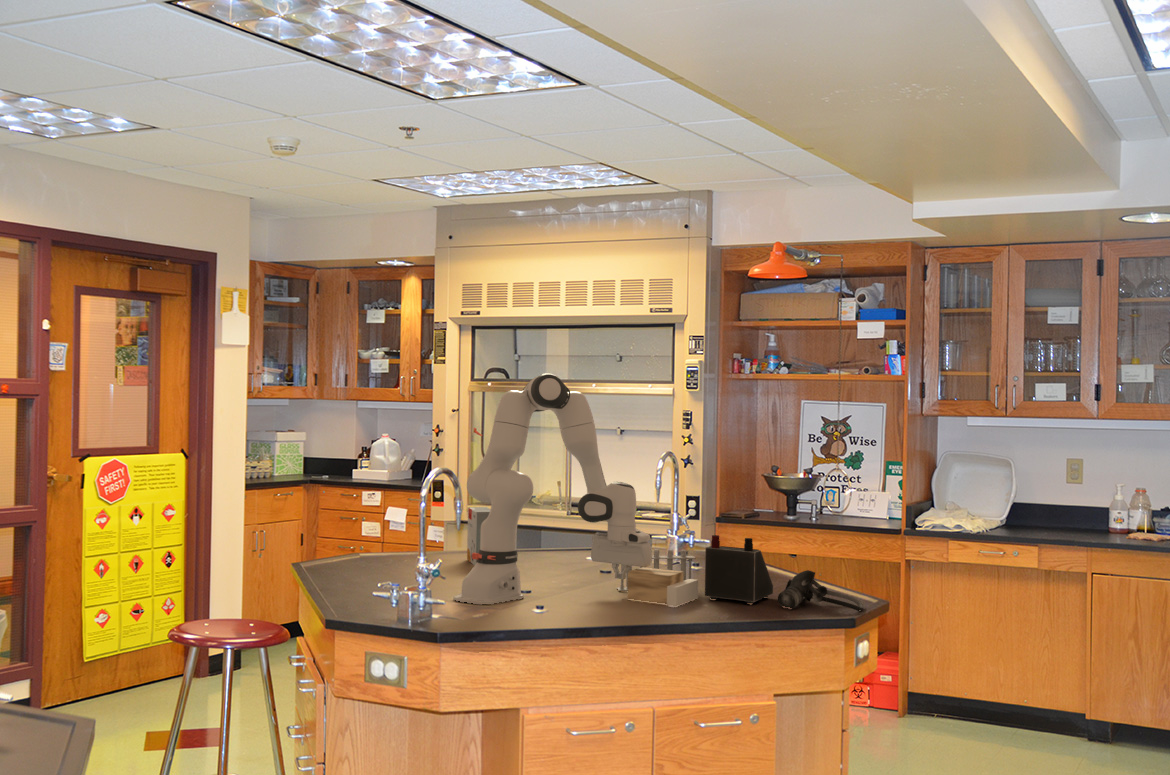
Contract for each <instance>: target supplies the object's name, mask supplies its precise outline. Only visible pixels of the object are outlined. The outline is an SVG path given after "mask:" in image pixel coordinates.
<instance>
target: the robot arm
mask: <svg viewBox="0 0 1170 775" xmlns="http://www.w3.org/2000/svg"><path fill="white" fill-rule="evenodd" d="M548 410H550V411H552V412H553V413H554V414H555V416H556V418H557V420H558V425H559V431H560V435H561V439H562V442H563V444H564V447H565V449H566V450H567V452H568V453H570V454H571V455H572V456H573V457H574V458H575V459H576V460H577V461H578V463H579V465H580V467H581V470H582V474H583V478H584V482H585V486H586V494H584V495H583V496H582V497H581V498H580V499H579V501H578V503H577V511H578V514H579V517H581V519H582V520H583V521H585V522H588V523H591V524H592V523H593V524H594V523H600V522H605V521H606V522H607V532H601V531H600V532H599V531H596V532H595V533H594V534H593V535H592V537H591V538H592V539H591V541H592V542H591V543H592V544H591V550H590V559H591V561H592V562H595V563H596V562H598V563H606V564H611V568H612V570H613V572H614V579H618V580H621V579H624V580H625V579H626V575H627V571H628V569H629V565H630V566H632V567H639V568H640V567H646V568H649V567H650V566H651V565H652V561H653V559H652V556H653V553H652V552H653V550H652V546H651V544H650V542H649V541H650V540H651V536H650V534H649V533H646V532H644V531H643V530H640V529H638V528H637V523H636V518H635V517H636V514H637V513H636V512H637V493H636V490H635V487H634V486H633V485H631V484H629V483H626V482H622V481H612V482H611V483H609V484H608V485H607V483H606V480H605V475H604V471H603V468H602V465H601V464H602V463H601V461H600V460H601V459H600V455H599V454H600V453H599V448H598V438H597V431H596V425H595V421H594V417H593V413H592V410H591V407H590V404H589V402H588V400H587V397H586V395H584V394H583V393H582V392H580V391H575V390H574V391H571V390H570V389H569V387H568V386H566V384H565V383H564V382H563V380H561V378H560V377H558V376H557V375H555V374H553V373H542V374H540V375H537V376H534V378H532V379H531V380H530V381H529V382H527V384H526V385H525V386H524V388H523V389H522V390H515V389H514V390H509V391H506V392H504V393H503V394H502V396H501V397H500V400H499V403H498V406H497V409H496V412H495V415H494V420H493V425H492V430H491V435H490V440H489V442H488V443H489V444H488V447H487V450H486V451H485V455H483V458H482V459H481V462H480V463H479V465H478V466H477V467H476V469H474V470H473V471H472V472H471V473H470V474H469V476H468V478H467V481H466V491H467V493H468V495H469V496H470V497H471V498H473V499H474V500H476V501H479V502H481V503H485V504H491V505H490V509H491V510H490V513H489V515H488V517H487V519H485V520H484V521H483V522H482V524H481V543H480V550H479V552H478V553H472V555H473V556H472V559H477V560H476V561H477V563H476V565H475V566H474V565H473V567H472V568H471V570H470V571H469V572H468V573H467V574H466V576H465V577H464V578H463V580H462V583H461V584H462V585H461V593H460V594H457V595H455V596H453V601H455V600H456V602H458V601H460V603H464V602H467V603H466V604H471V603H473V604H474V605H482V604H491V605H495V604H494V603H497V604H500V603H499V602H502V603H505V601H507V602H511V601H510V600H513V601H517V600H516V599H518V600H522V598H523V599H524V593H522V590H521V589H522V587H521V586H522V585H521V573H520V570H519V568H518V565H517V562H518V557H519V554H518V549H517V536H518V535H517V534H518V533H517V532H518V524H519V520H520V519H519V518H520V516H521V513H522V511H523V509H524V507H525V505H526V504H528V502H529V501H530V500H531V499H532V496H533V494H534V483H533V481H532V479H531V477H530V476H528V475H527V474H526V473H523V472H521V471H518V470H513V469H512V468H513V466H514V464H515V462H516V461H517V460H518V459H519V458H520V457H522V455H523V454H524V453H525V449H526V444H527V438H528V433H529V430H530V429H529V428H530V421H531V418H532V415H533V413H536V412H544V411H548ZM621 564H622V568H624V569H623V571H622V573H621V571H620V569H619V567H620V565H621ZM473 604H472V605H473Z"/></svg>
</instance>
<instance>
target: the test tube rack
mask: <svg viewBox="0 0 1170 775" xmlns="http://www.w3.org/2000/svg"><path fill="white" fill-rule="evenodd" d="M666 553H667V554H666V555H660V549H654V550H653V555H652V560H653V568H654V569H660V560H667V561H666V562H667V565H666V567H667V568H666V570H673V568H674V566H673V565H674V564H673V560H680V571H682V572H684V576H683V581H684V580H687V577H686V576H687V560H688V579H692V562H693V560H696V557H695V556H694V555H687V549H681V550H680V555H674V550H673V549H667V551H666ZM620 566H621V567H620V572H621V573H622V571H623V569H624V568H622V564H620ZM639 568H642V567H639ZM645 568H647V567H645ZM631 570H633V566H630V565H629V569H628V571H631ZM628 571H627V573H626V578H625V579H626V584H625V585H626V587H625V586H624V581H625V579H620V586H619V587H617V586H616V590H617V589H618V590H619V591H628ZM673 571H674V570H673Z"/></svg>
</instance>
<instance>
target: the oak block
mask: <svg viewBox="0 0 1170 775" xmlns="http://www.w3.org/2000/svg"><path fill="white" fill-rule="evenodd" d="M683 576H684V572H682V571H681V570H667V569H661V568H659V569H654V567H653V568H652V567H646V568H645V567H642V568H640V567H639V568H635V569H632V570H631V571H628V592H627V598H626V599H634V600H641V601H649V602H657V603H665V604H667V586H670V585H673V584H675V583H678V582H681V581H683Z"/></svg>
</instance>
